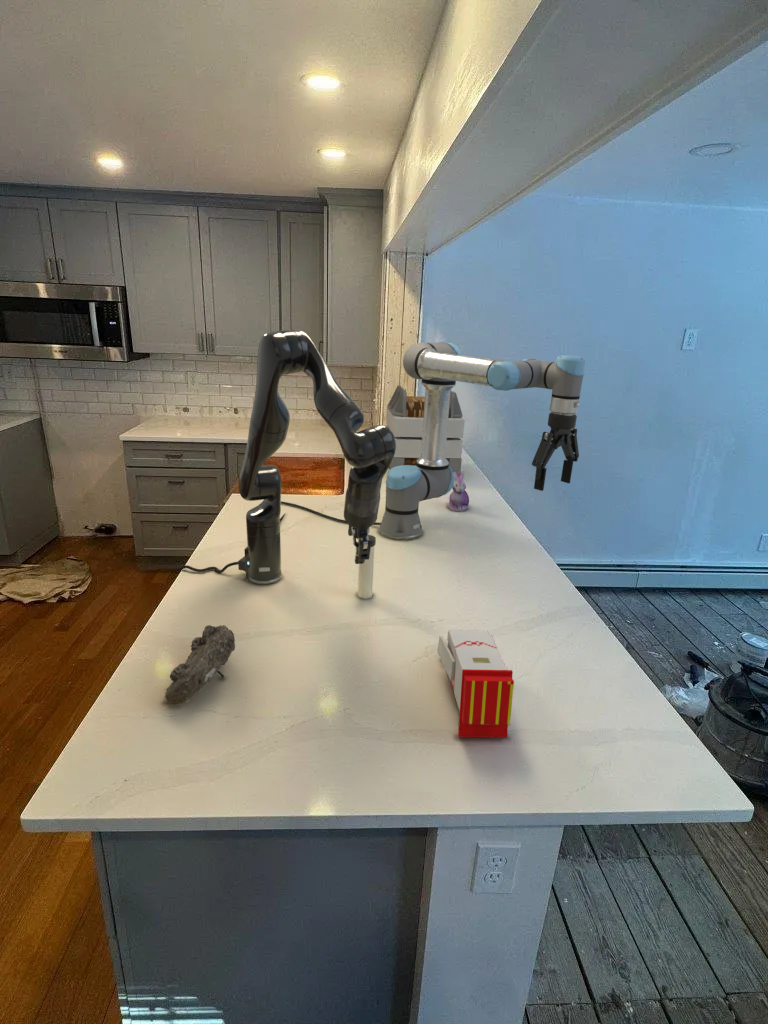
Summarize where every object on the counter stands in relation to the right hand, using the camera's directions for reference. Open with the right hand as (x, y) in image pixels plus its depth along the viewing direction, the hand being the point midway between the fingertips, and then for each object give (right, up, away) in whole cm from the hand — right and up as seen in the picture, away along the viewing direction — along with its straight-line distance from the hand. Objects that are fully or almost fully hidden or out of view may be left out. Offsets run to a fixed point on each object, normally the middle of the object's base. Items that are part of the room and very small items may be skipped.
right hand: (552, 485), depth 166 cm
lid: (-54, -15, -15) cm, 58 cm away
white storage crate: (-32, +11, +109) cm, 115 cm away
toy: (-31, -45, -47) cm, 72 cm away
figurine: (-19, -6, +63) cm, 66 cm away
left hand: (-56, -16, -30) cm, 65 cm away
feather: (-86, -10, +45) cm, 98 cm away
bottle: (-54, -31, -9) cm, 63 cm away
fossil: (-87, -42, -46) cm, 107 cm away
